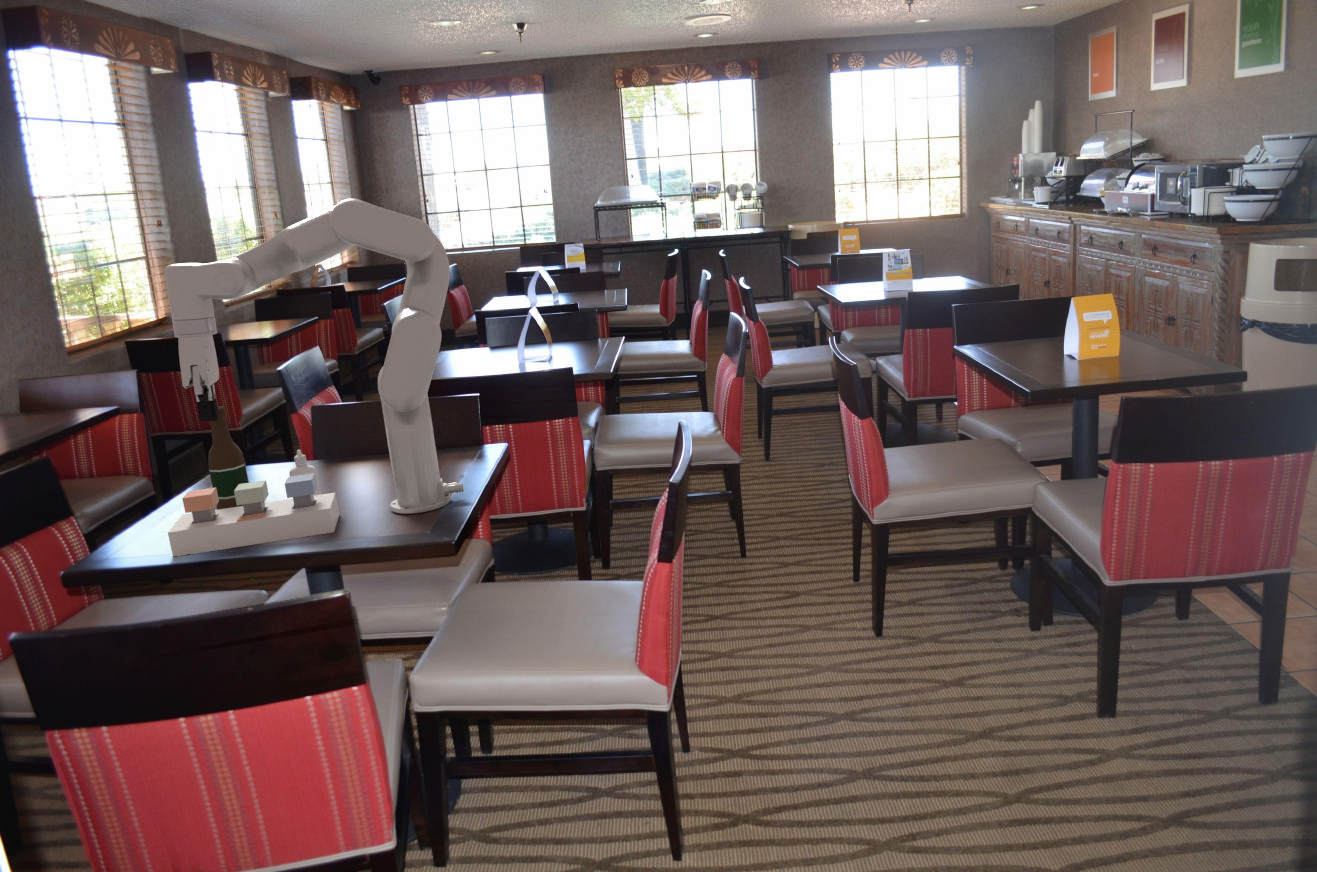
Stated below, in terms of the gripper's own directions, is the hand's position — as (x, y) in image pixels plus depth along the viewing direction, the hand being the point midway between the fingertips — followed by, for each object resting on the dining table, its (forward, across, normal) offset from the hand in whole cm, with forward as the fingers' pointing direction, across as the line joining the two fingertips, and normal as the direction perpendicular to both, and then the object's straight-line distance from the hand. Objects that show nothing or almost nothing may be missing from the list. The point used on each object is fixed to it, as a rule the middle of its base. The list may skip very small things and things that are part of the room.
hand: (209, 420), depth 189 cm
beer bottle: (+24, -18, -2) cm, 30 cm away
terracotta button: (+22, +2, -3) cm, 22 cm away
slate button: (+21, +2, +16) cm, 27 cm away
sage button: (+22, +2, +6) cm, 23 cm away
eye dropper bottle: (+24, -19, +13) cm, 33 cm away
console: (+24, +2, +7) cm, 25 cm away
